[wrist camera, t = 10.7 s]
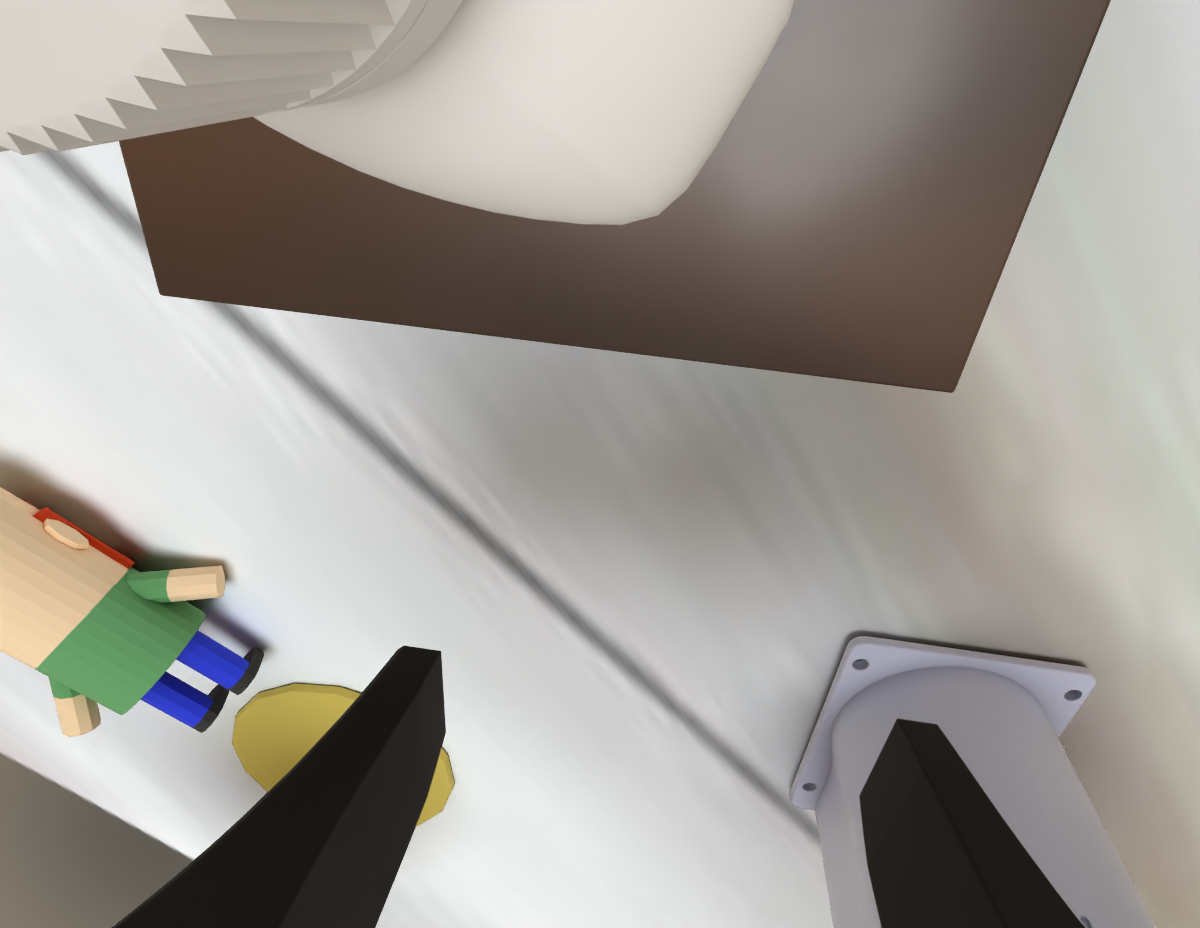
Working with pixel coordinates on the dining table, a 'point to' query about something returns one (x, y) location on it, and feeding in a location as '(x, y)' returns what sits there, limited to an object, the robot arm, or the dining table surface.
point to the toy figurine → (108, 623)
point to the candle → (306, 735)
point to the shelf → (684, 210)
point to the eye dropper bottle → (408, 88)
